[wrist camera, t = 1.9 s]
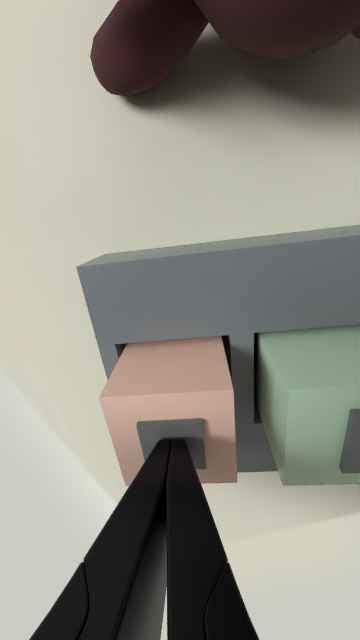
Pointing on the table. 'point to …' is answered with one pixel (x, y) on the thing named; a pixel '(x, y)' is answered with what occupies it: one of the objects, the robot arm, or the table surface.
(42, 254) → the table surface
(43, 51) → the table surface
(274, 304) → the keypad
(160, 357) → the key coral
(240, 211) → the table surface
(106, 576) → the robot arm
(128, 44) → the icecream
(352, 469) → the key sage
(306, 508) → the table surface
